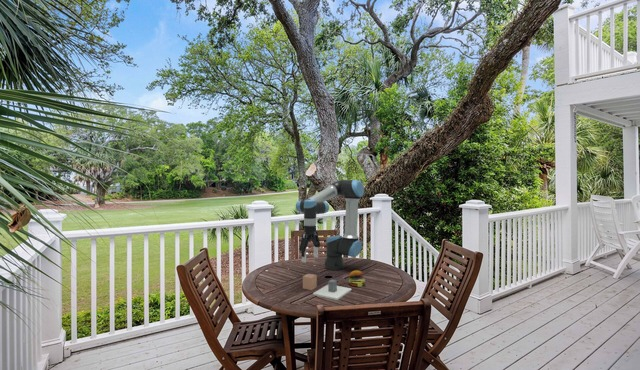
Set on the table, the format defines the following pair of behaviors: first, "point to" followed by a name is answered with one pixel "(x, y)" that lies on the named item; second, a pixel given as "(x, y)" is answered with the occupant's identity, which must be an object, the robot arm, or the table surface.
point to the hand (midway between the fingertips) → (309, 259)
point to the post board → (334, 294)
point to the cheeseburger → (356, 278)
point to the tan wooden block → (309, 281)
